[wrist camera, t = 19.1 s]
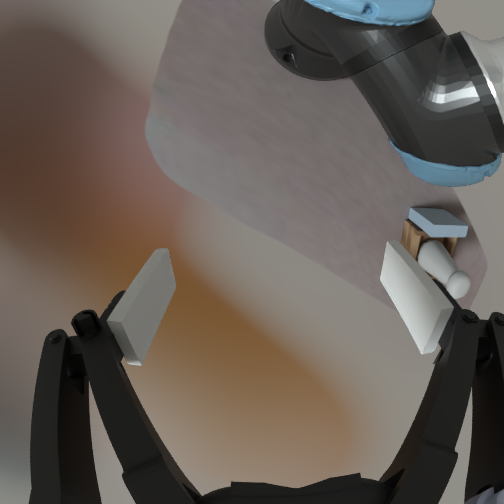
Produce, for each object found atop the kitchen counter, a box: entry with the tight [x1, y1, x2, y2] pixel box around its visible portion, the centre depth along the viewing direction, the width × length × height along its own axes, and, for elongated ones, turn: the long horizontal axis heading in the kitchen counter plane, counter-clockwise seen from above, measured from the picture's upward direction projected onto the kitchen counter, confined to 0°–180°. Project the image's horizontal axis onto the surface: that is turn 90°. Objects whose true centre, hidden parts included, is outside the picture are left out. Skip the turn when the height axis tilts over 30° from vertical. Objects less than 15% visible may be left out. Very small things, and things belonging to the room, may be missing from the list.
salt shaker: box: [417, 239, 471, 299], centre depth 36 cm, size 6×6×13 cm
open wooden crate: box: [401, 220, 457, 280], centre depth 41 cm, size 10×10×5 cm
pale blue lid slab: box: [409, 207, 468, 237], centre depth 37 cm, size 2×8×8 cm, turn 93°
